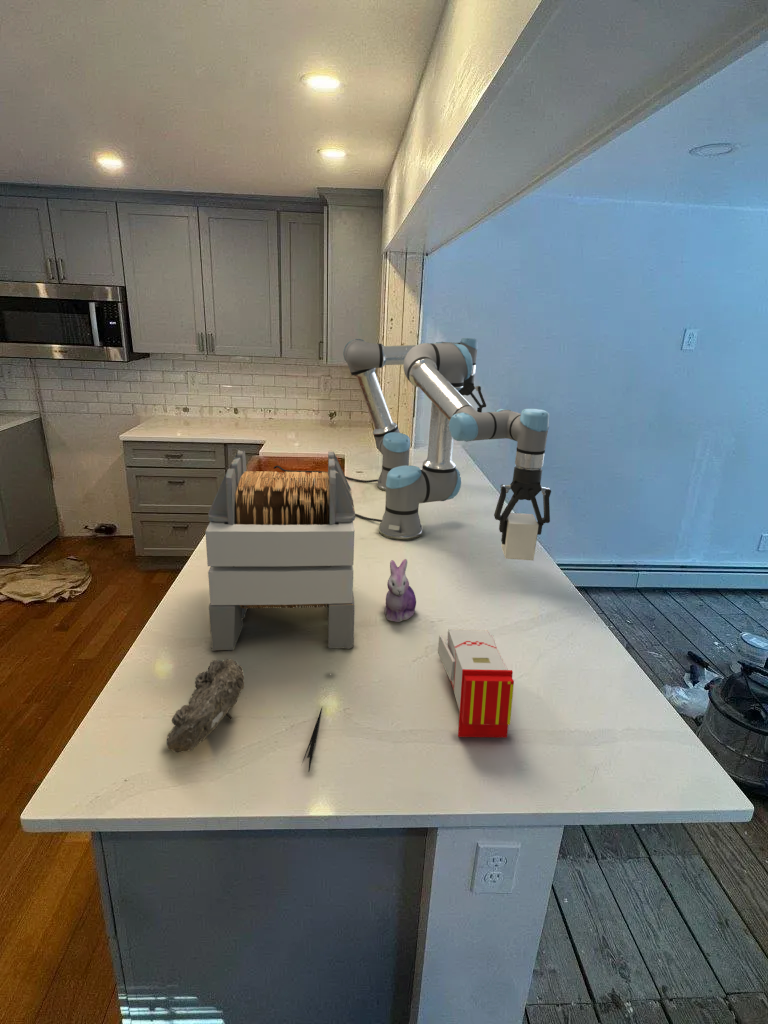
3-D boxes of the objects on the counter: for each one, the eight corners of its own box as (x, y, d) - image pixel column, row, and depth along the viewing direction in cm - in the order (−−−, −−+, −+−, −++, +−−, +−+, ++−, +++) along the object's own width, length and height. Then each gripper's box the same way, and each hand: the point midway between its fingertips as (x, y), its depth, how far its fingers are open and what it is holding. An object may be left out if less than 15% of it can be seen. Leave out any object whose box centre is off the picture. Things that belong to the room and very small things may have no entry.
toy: (488, 613, 130) (523, 677, 101) (484, 667, 133) (517, 744, 104) (435, 612, 130) (455, 676, 101) (432, 666, 133) (451, 743, 103)
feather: (331, 679, 122) (336, 673, 122) (307, 777, 96) (313, 769, 95) (324, 675, 122) (329, 669, 121) (298, 772, 95) (304, 764, 95)
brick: (533, 560, 159) (538, 525, 156) (505, 558, 160) (509, 523, 156) (528, 548, 168) (533, 514, 164) (501, 546, 168) (505, 512, 164)
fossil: (192, 660, 117) (244, 628, 112) (224, 691, 120) (276, 661, 115) (142, 746, 98) (202, 712, 93) (182, 779, 101) (242, 748, 96)
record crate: (231, 583, 159) (223, 441, 145) (347, 582, 163) (350, 443, 149) (209, 653, 127) (196, 479, 114) (354, 649, 131) (359, 481, 117)
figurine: (392, 627, 141) (395, 572, 136) (374, 608, 149) (376, 556, 144) (425, 619, 145) (429, 566, 140) (405, 601, 154) (408, 550, 149)
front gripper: (563, 465, 158) (552, 540, 166) (488, 461, 159) (480, 536, 167) (570, 472, 151) (557, 551, 159) (491, 468, 152) (483, 546, 160)
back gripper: (493, 374, 257) (488, 421, 264) (438, 371, 258) (435, 418, 265) (495, 376, 249) (490, 424, 257) (438, 373, 251) (435, 421, 258)
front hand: (518, 543), depth 163 cm, fingers closed on brick, 8 cm apart
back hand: (462, 421), depth 261 cm, fingers open, 13 cm apart
